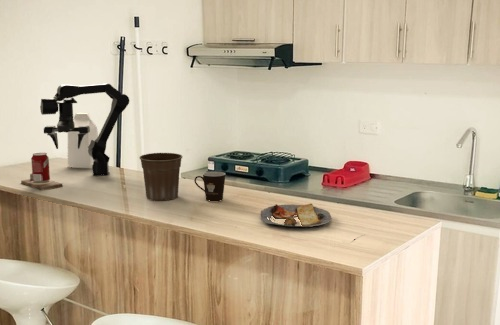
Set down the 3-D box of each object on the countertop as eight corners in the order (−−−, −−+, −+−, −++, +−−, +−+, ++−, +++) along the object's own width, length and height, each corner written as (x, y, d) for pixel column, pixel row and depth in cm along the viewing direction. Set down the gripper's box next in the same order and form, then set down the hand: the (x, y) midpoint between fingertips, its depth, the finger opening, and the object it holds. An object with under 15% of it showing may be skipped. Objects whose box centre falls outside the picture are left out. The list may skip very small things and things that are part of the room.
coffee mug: (230, 199, 213) (230, 173, 211) (213, 203, 207) (213, 177, 205) (209, 194, 221) (209, 169, 219) (193, 198, 215) (192, 172, 213)
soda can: (41, 184, 230) (39, 155, 228) (29, 182, 233) (27, 154, 231) (53, 180, 236) (51, 153, 234) (41, 179, 239) (39, 151, 237)
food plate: (260, 208, 200) (261, 199, 199) (326, 210, 199) (326, 201, 198) (259, 232, 175) (260, 221, 175) (334, 234, 175) (334, 223, 174)
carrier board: (21, 183, 238) (20, 173, 237) (41, 180, 244) (40, 170, 244) (42, 190, 226) (41, 179, 225) (62, 186, 232) (62, 176, 232)
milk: (67, 167, 273) (64, 114, 268) (78, 163, 284) (75, 112, 279) (90, 168, 271) (88, 114, 266) (100, 163, 282) (98, 112, 277)
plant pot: (170, 204, 206) (169, 161, 203) (132, 200, 211) (131, 158, 208) (190, 194, 221) (189, 154, 218) (154, 190, 226) (153, 151, 223)
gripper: (39, 115, 236) (41, 152, 238) (84, 115, 237) (86, 151, 240) (46, 113, 246) (48, 148, 249) (89, 112, 248) (90, 147, 251)
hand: (68, 148), depth 247 cm, fingers open, 9 cm apart
